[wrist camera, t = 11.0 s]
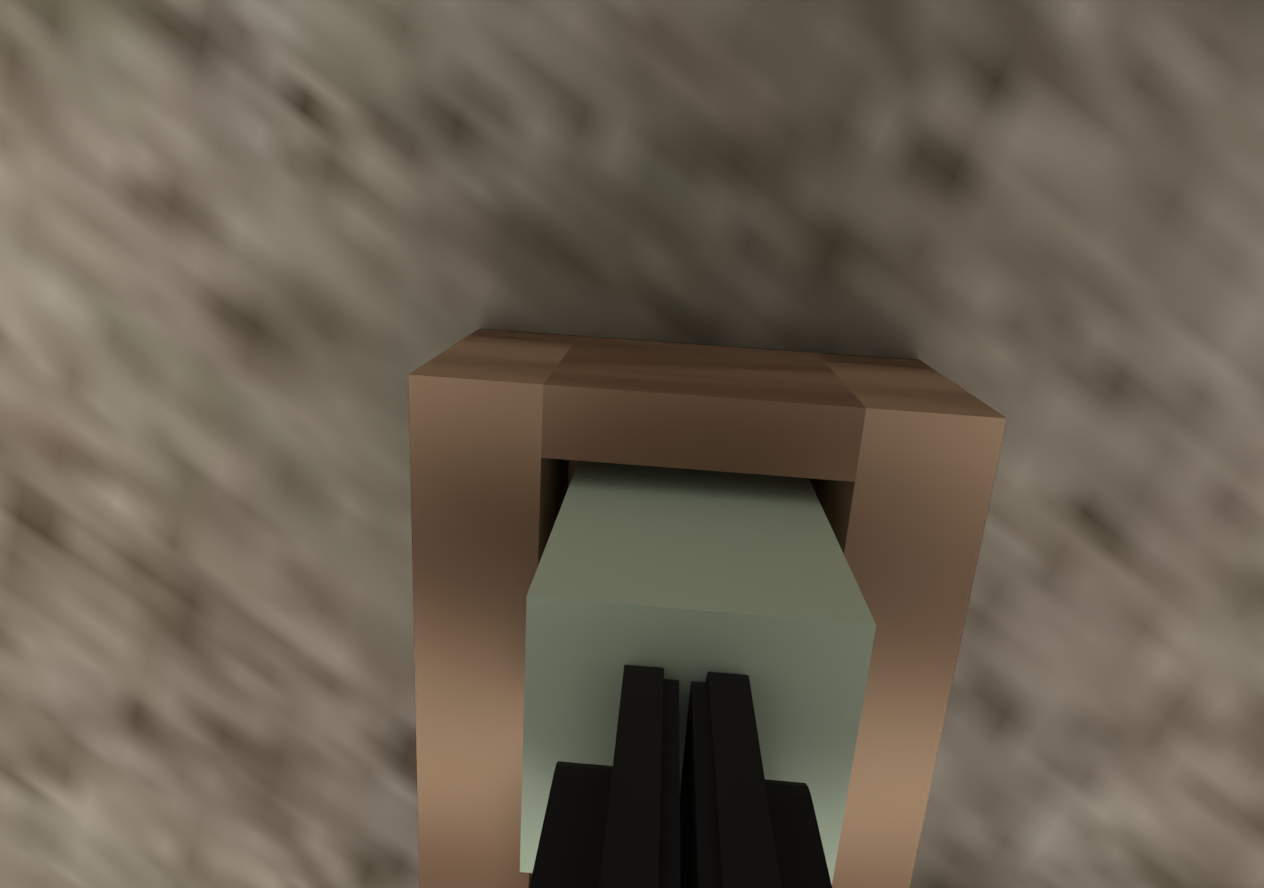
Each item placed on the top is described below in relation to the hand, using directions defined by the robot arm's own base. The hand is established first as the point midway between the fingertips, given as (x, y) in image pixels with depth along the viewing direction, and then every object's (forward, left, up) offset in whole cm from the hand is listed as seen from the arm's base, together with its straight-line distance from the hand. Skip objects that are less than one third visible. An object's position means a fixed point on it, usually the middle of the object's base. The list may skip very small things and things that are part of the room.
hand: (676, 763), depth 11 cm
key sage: (0, 0, -7) cm, 7 cm away
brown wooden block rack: (+6, 0, -9) cm, 11 cm away
